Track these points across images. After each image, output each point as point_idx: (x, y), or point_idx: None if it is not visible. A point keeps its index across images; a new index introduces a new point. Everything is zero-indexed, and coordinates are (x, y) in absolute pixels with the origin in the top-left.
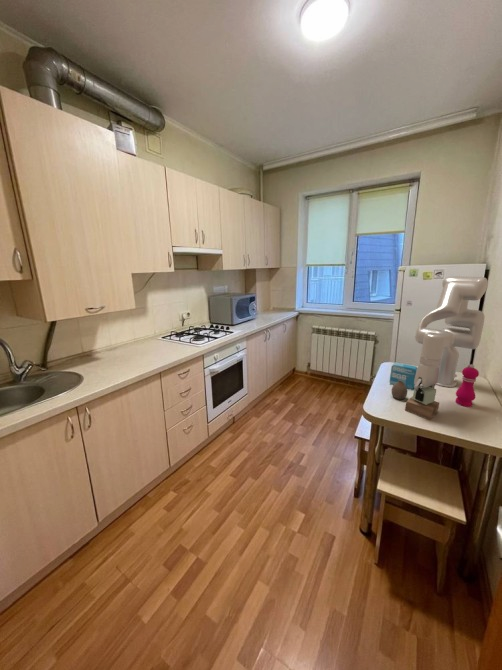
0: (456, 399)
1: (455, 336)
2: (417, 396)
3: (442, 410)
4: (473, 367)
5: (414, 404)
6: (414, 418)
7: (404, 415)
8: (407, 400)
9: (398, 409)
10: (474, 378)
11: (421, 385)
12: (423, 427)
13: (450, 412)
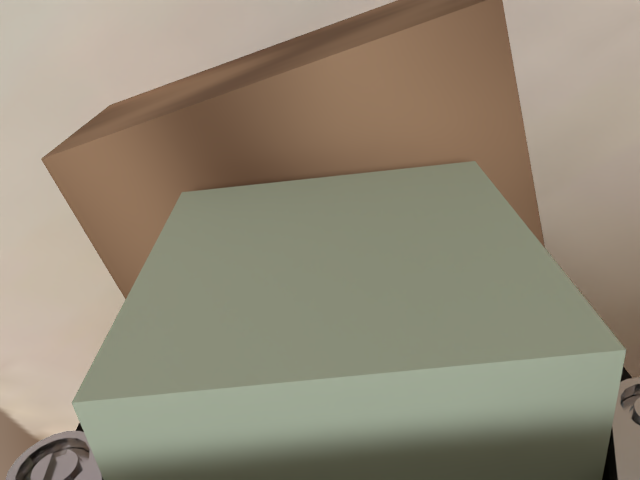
0: None
1: None
2: None
3: (607, 279)
4: None
5: (119, 281)
6: (89, 288)
7: (5, 200)
8: (91, 141)
9: (28, 42)
10: None
11: (438, 414)
12: (53, 421)
13: (636, 335)
